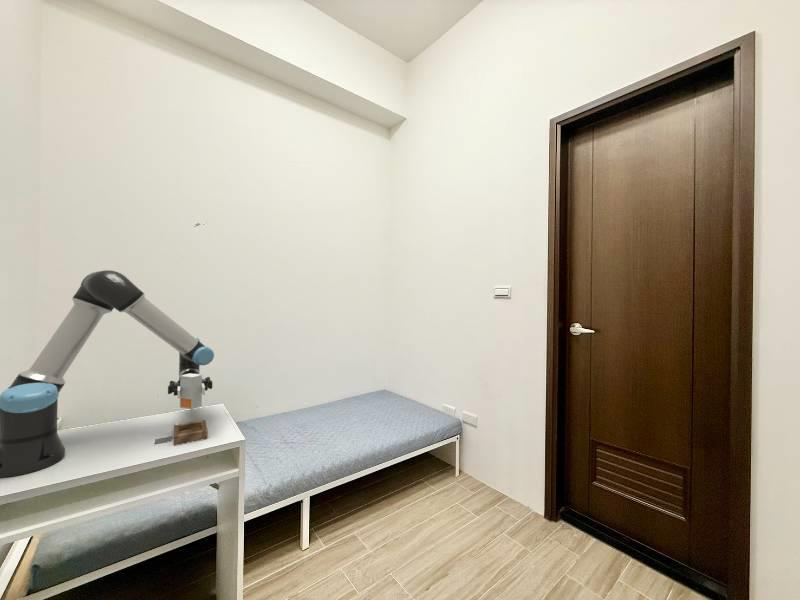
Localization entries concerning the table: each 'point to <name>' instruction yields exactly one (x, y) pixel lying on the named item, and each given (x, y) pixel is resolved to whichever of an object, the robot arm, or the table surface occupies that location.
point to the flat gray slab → (163, 440)
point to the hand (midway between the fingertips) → (191, 392)
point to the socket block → (190, 432)
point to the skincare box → (190, 391)
